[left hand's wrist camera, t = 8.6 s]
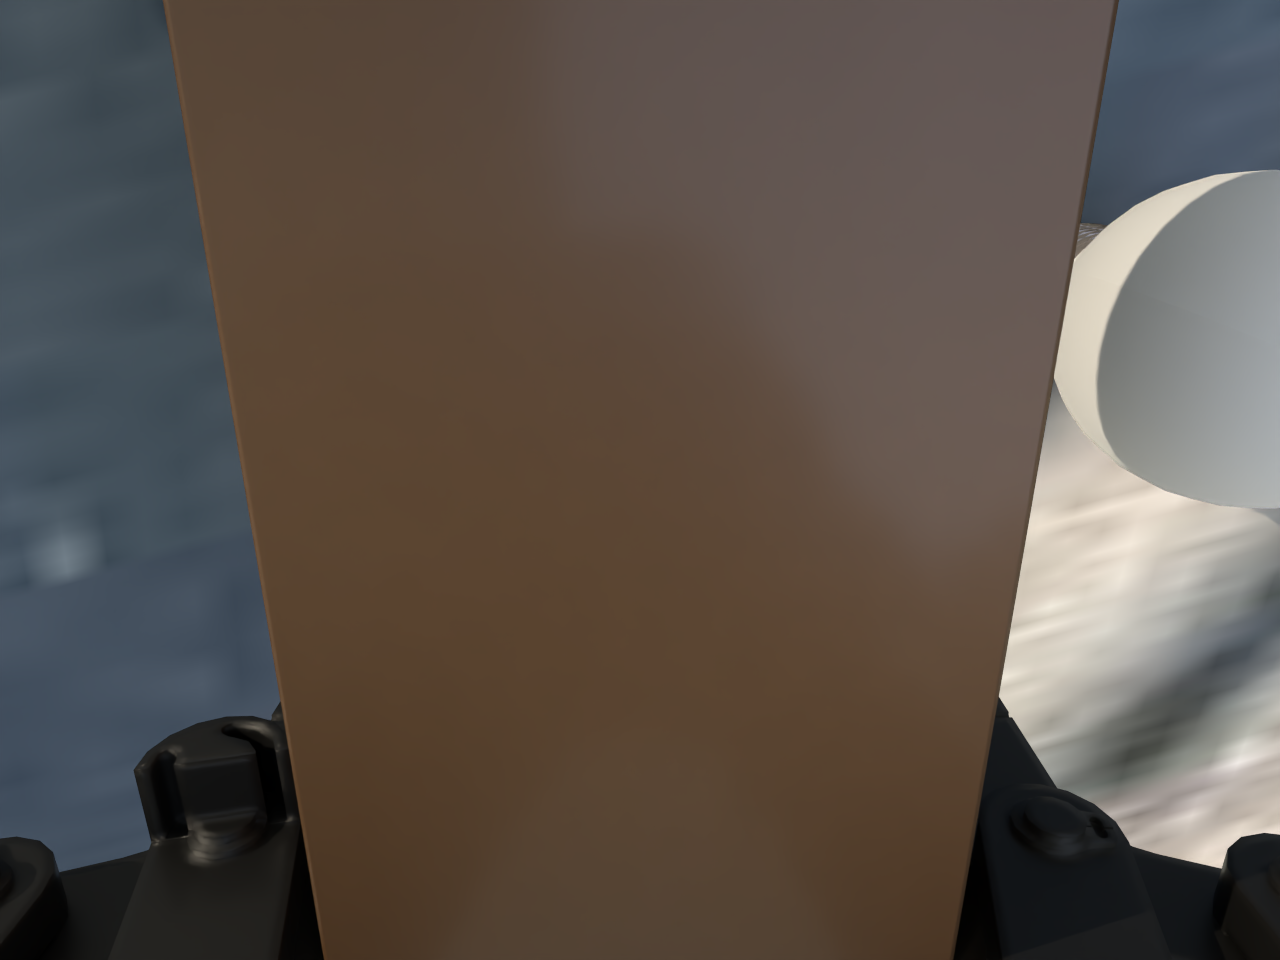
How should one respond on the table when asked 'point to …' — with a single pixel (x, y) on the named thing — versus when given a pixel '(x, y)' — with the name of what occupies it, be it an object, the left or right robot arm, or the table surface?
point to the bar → (639, 446)
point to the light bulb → (1182, 339)
